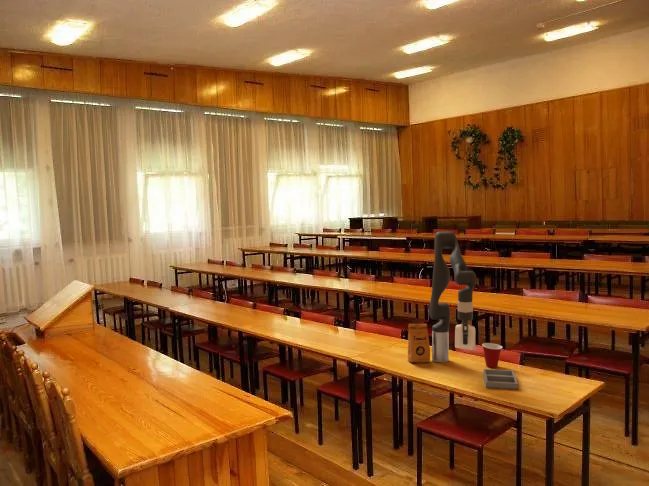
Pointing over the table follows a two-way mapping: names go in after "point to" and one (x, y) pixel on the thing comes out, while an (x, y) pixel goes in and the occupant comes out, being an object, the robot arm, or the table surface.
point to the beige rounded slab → (460, 338)
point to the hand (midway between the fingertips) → (465, 342)
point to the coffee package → (418, 343)
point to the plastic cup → (491, 354)
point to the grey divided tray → (500, 379)
